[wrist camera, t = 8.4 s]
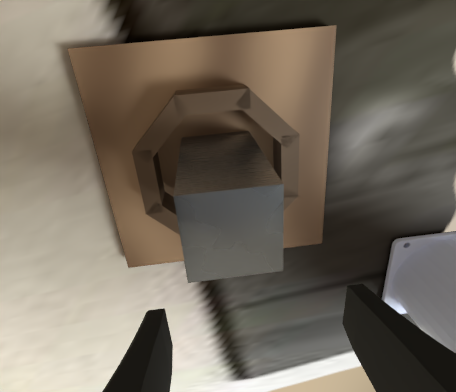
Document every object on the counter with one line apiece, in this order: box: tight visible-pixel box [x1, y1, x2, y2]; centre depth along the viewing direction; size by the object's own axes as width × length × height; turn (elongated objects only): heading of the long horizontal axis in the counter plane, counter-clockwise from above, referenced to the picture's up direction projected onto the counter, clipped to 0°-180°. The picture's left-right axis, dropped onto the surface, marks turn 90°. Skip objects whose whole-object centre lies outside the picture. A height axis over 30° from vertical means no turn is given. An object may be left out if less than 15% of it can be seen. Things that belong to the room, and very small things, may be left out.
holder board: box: [68, 25, 336, 268], centre depth 19 cm, size 14×14×3 cm
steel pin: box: [173, 131, 284, 283], centre depth 16 cm, size 4×4×8 cm
